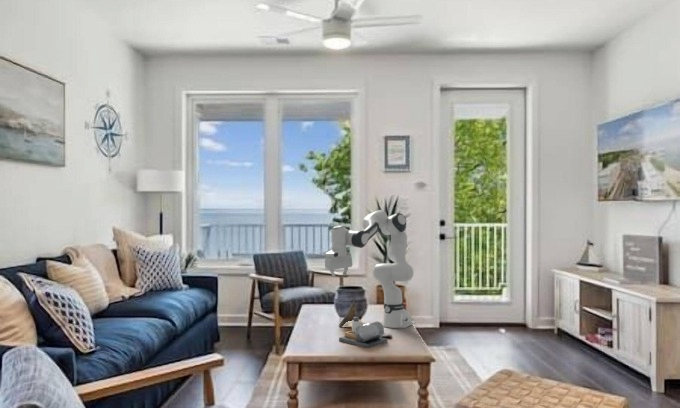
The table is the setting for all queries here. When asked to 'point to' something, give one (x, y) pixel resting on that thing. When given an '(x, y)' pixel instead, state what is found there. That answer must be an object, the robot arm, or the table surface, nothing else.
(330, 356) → the table surface
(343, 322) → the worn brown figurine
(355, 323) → the white capped bottle
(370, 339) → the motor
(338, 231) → the robot arm
